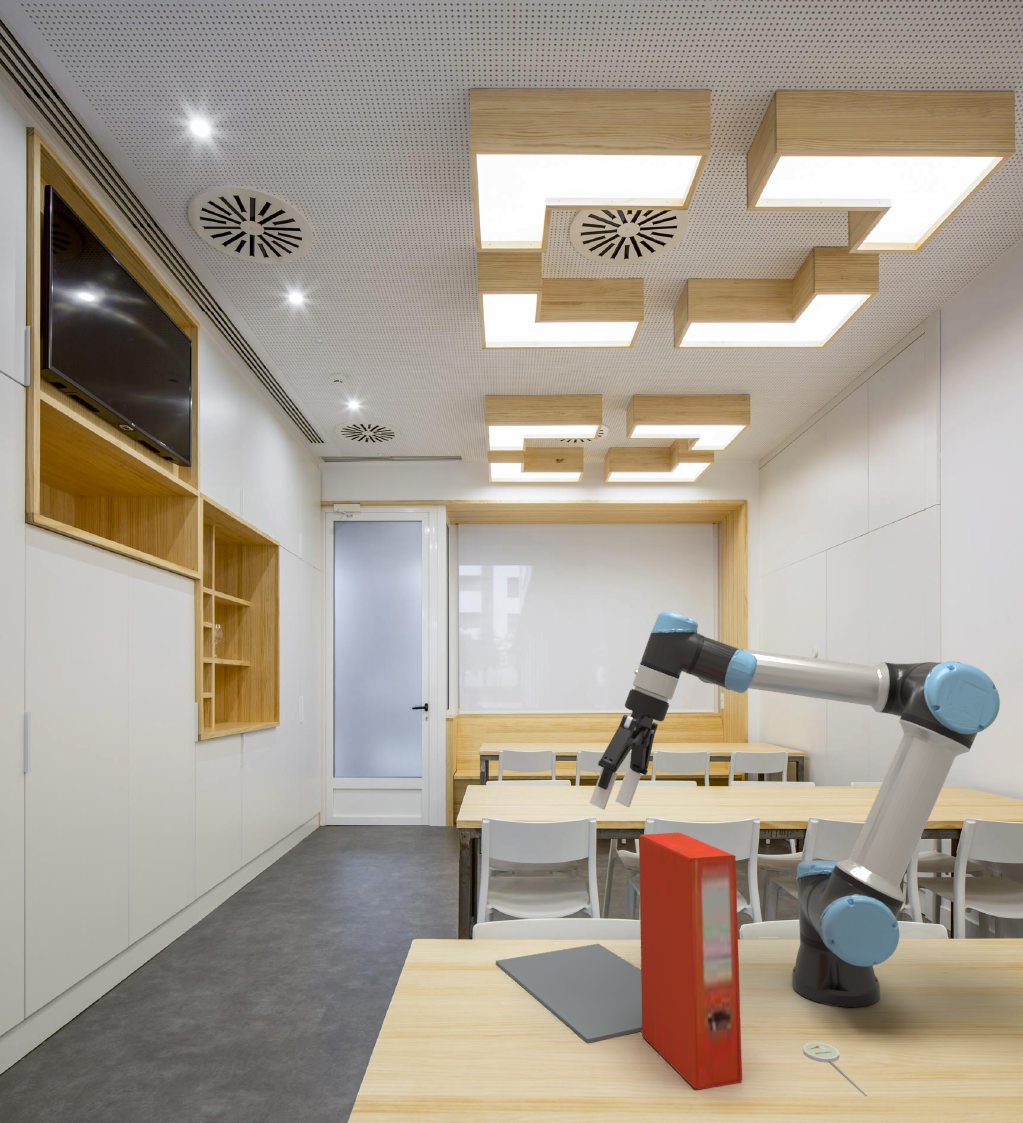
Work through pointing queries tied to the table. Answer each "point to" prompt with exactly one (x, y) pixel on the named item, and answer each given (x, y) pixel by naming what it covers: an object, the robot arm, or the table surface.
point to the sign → (825, 1056)
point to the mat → (583, 989)
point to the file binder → (690, 957)
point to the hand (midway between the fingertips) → (610, 805)
